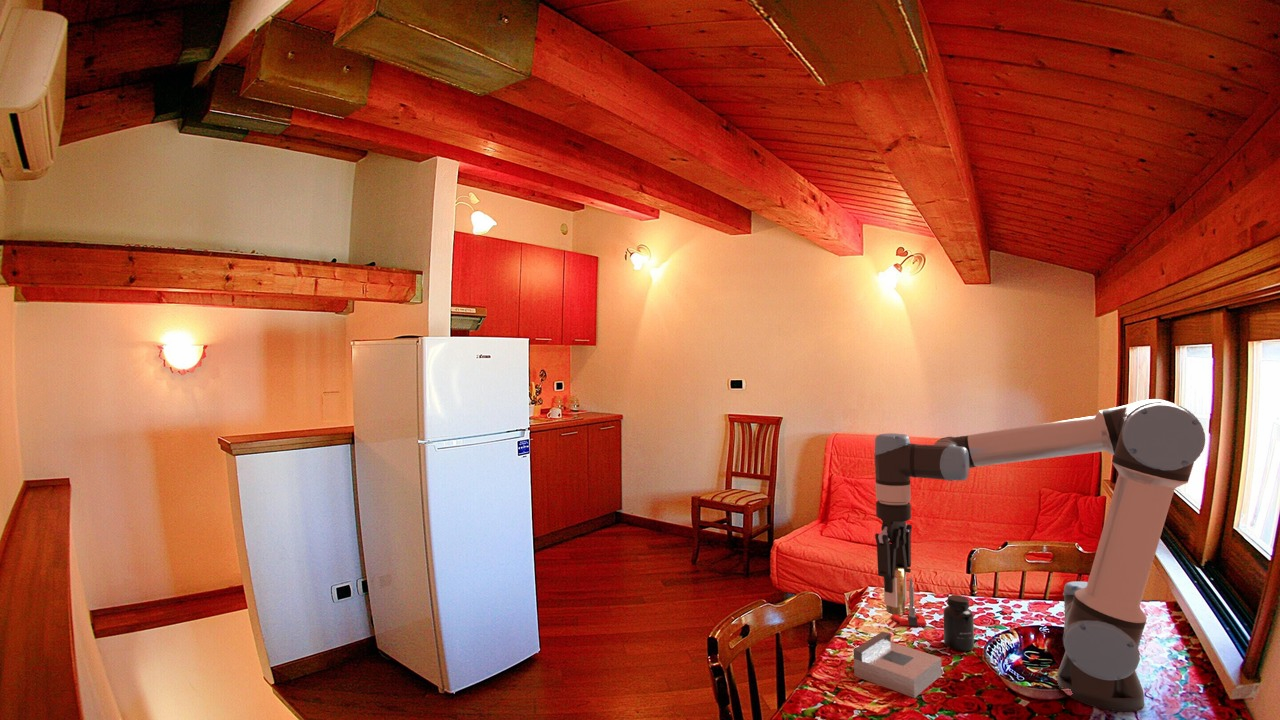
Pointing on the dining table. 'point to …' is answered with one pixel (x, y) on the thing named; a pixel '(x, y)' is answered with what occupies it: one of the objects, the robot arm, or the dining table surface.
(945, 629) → the supplement bottle
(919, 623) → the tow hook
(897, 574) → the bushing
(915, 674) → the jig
